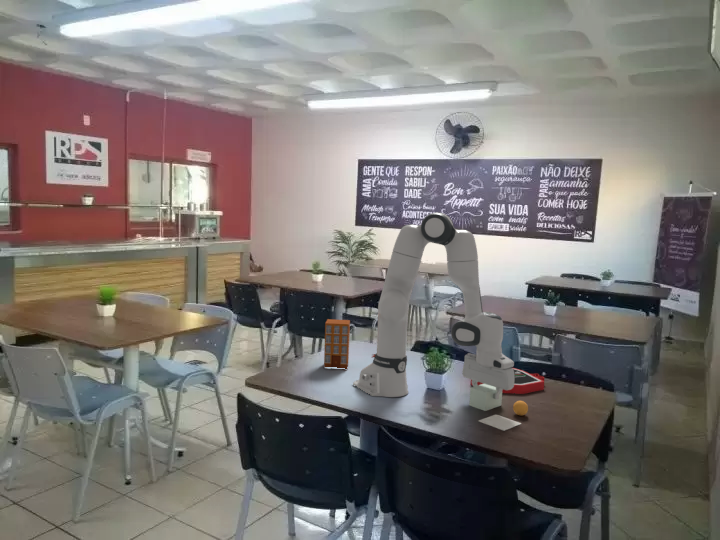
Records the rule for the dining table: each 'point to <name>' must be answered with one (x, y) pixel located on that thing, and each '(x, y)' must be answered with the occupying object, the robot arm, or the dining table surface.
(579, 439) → the dining table surface
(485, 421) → the mark
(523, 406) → the ball
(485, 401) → the pale green rectangular prism
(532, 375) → the emblem
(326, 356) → the miniature building
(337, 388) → the dining table surface
